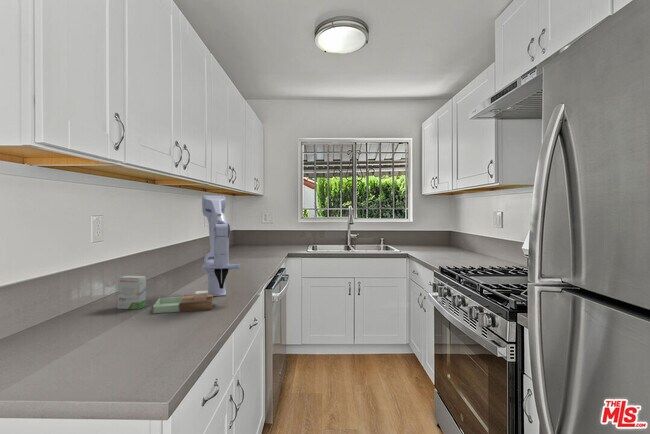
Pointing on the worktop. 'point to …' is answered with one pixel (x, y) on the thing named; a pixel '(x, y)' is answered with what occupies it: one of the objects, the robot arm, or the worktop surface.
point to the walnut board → (195, 303)
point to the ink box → (131, 292)
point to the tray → (167, 305)
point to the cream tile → (201, 292)
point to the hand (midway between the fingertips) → (221, 288)
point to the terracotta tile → (200, 297)
